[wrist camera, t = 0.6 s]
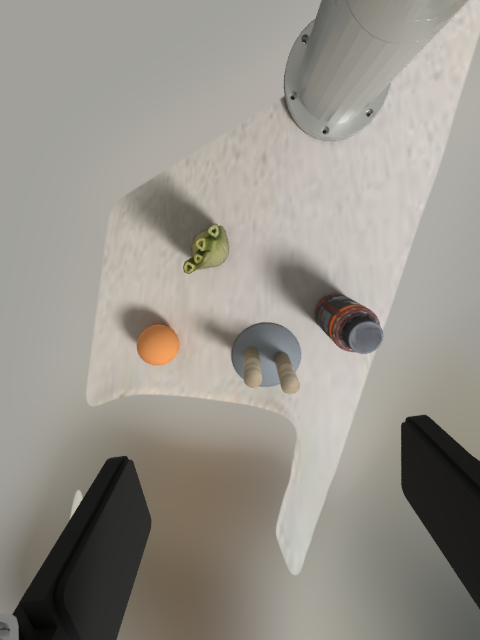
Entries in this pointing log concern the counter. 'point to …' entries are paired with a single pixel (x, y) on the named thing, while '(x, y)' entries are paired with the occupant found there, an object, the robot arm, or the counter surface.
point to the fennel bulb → (208, 249)
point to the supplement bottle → (349, 324)
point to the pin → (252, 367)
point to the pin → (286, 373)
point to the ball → (158, 344)
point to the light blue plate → (266, 350)
